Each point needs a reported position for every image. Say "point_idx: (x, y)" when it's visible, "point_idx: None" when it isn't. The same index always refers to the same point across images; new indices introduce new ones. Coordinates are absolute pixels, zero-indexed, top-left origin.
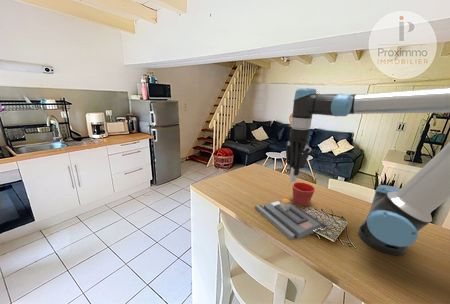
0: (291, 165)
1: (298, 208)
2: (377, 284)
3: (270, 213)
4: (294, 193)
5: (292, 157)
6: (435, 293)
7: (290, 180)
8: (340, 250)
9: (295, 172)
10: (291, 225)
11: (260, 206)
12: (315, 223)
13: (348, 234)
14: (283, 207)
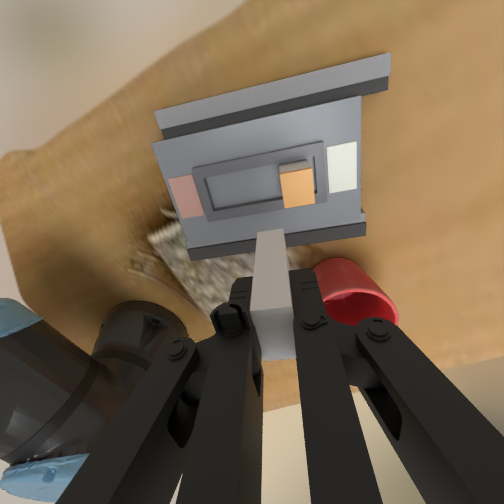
0: (296, 326)
1: (292, 241)
2: (29, 227)
3: (304, 107)
4: (351, 274)
5: (314, 466)
6: (30, 299)
7: (271, 233)
8: (117, 230)
9: (241, 296)
10: (193, 141)
11: (368, 79)
12: (193, 233)
13: (170, 290)
14: (283, 167)
